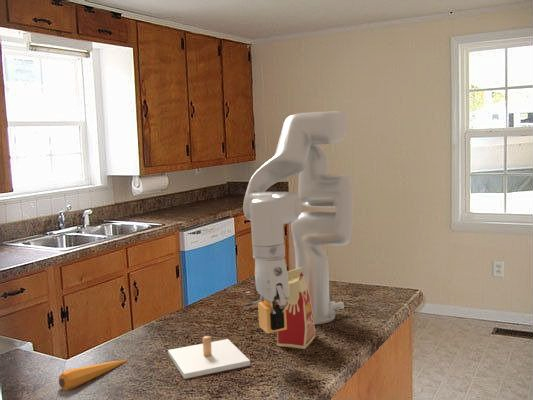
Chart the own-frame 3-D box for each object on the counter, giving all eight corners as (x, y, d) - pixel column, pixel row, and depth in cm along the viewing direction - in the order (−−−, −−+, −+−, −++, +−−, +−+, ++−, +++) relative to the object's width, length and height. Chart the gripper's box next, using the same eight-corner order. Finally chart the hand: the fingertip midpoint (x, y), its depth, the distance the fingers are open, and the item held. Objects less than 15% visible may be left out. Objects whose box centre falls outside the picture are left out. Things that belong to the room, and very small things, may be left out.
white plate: (228, 343, 149) (227, 322, 148) (250, 365, 134) (249, 342, 134) (168, 354, 143) (166, 332, 142) (184, 378, 128) (183, 354, 127)
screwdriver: (247, 312, 175) (246, 302, 174) (240, 310, 177) (240, 300, 177) (301, 294, 192) (301, 285, 192) (294, 292, 194) (294, 284, 194)
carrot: (65, 397, 124) (70, 380, 122) (53, 385, 126) (58, 368, 125) (133, 372, 140) (138, 356, 139) (121, 362, 142) (126, 346, 141)
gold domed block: (278, 322, 138) (276, 292, 136) (286, 329, 133) (285, 298, 132) (259, 326, 136) (257, 296, 134) (267, 333, 131) (265, 302, 130)
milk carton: (315, 336, 151) (313, 263, 149) (306, 349, 143) (304, 272, 140) (283, 333, 154) (280, 262, 152) (272, 346, 146) (269, 270, 143)
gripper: (299, 255, 125) (303, 333, 128) (269, 241, 140) (272, 310, 143) (268, 261, 122) (272, 340, 125) (240, 245, 138) (245, 316, 141)
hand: (272, 323), depth 134 cm, fingers closed on gold domed block, 4 cm apart
